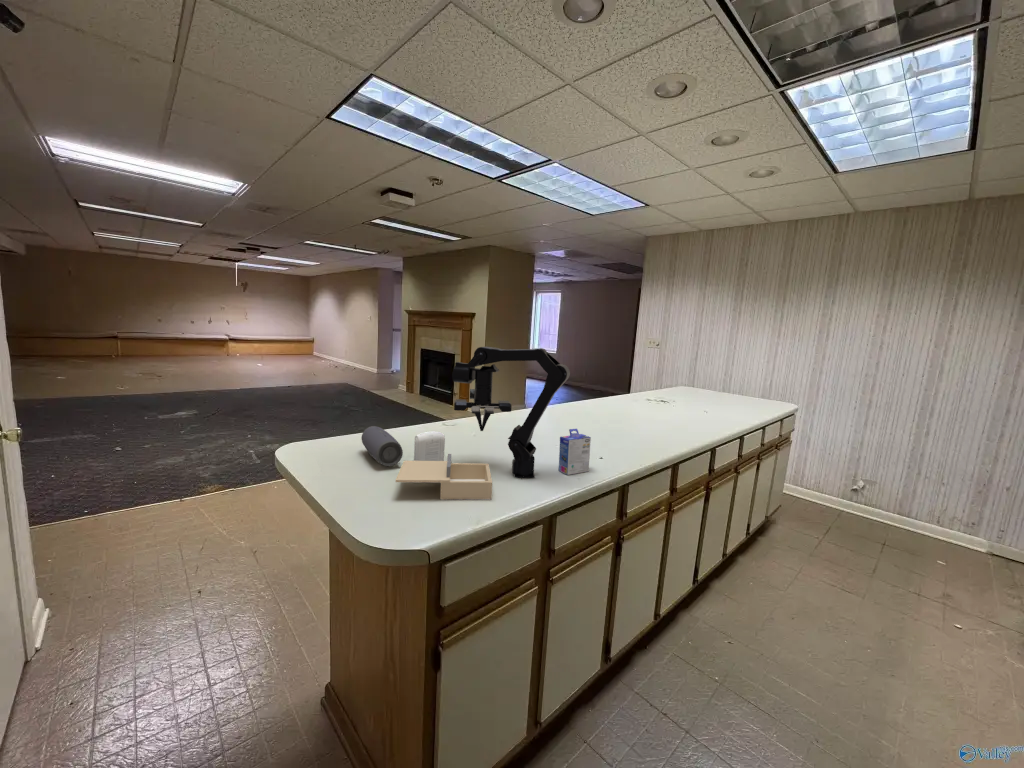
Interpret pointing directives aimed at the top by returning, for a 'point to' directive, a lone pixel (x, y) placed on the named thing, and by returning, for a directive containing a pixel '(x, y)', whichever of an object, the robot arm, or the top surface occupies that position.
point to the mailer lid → (425, 471)
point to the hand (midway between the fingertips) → (481, 430)
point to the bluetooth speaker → (382, 446)
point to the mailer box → (468, 482)
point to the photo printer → (429, 446)
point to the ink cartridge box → (574, 453)
